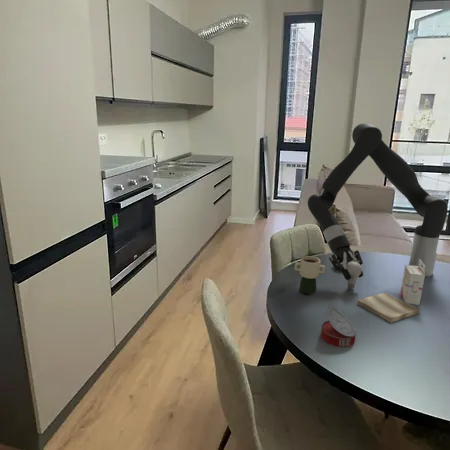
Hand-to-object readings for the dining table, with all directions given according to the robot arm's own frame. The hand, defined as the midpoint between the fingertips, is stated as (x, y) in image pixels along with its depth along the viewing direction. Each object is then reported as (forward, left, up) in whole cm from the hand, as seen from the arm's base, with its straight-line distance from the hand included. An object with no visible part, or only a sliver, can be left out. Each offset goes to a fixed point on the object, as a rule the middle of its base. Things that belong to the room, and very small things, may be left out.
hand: (355, 277), depth 142 cm
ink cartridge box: (-14, +14, -6) cm, 20 cm away
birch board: (0, +15, -5) cm, 16 cm away
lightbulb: (0, -2, -5) cm, 6 cm away
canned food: (+29, +21, -6) cm, 36 cm away
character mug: (+17, -7, -5) cm, 19 cm away
